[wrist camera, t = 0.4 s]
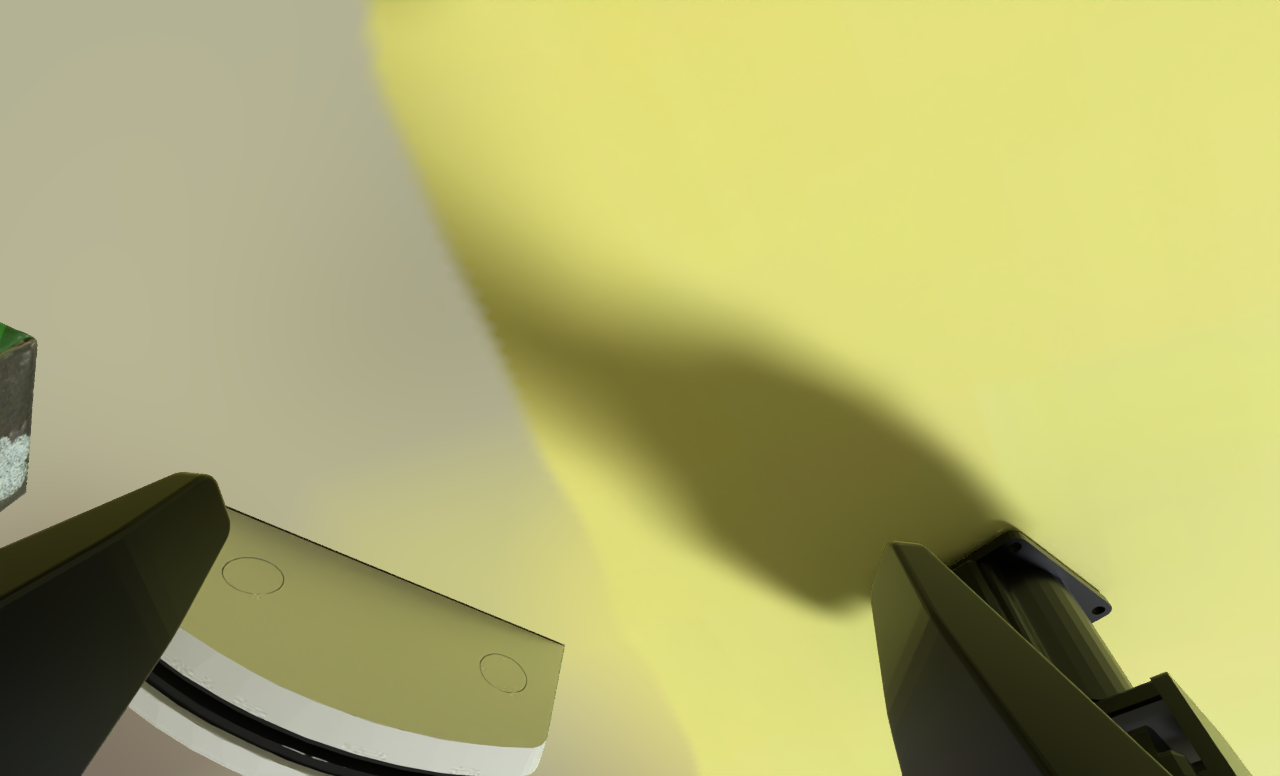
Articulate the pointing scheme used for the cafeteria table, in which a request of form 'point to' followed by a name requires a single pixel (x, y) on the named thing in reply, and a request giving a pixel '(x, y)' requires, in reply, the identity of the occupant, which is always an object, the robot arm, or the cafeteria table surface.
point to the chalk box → (15, 410)
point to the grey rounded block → (346, 670)
